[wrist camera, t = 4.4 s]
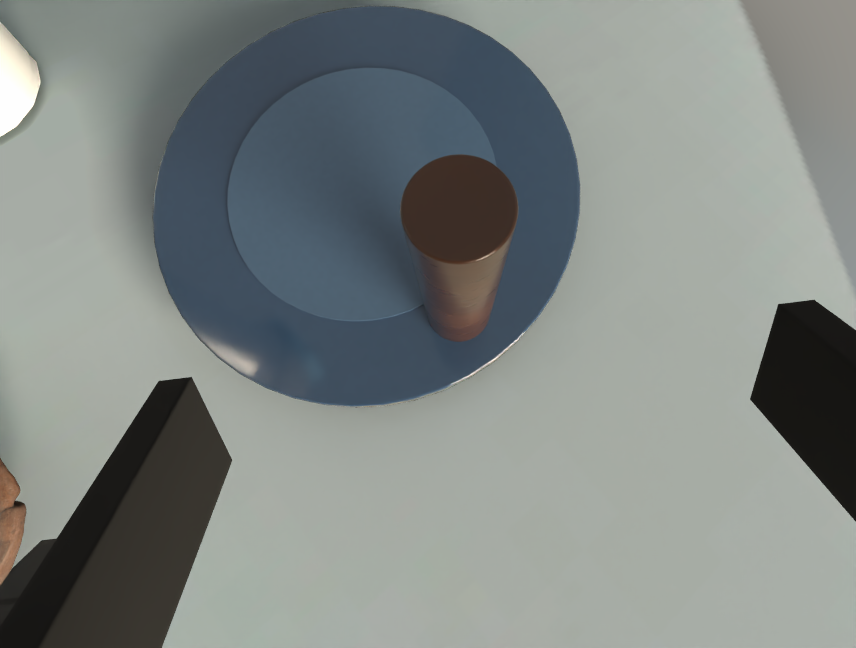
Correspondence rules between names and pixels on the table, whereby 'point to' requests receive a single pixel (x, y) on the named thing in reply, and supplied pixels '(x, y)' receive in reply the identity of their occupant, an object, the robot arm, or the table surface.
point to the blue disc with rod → (366, 206)
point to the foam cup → (15, 81)
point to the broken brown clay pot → (9, 521)
